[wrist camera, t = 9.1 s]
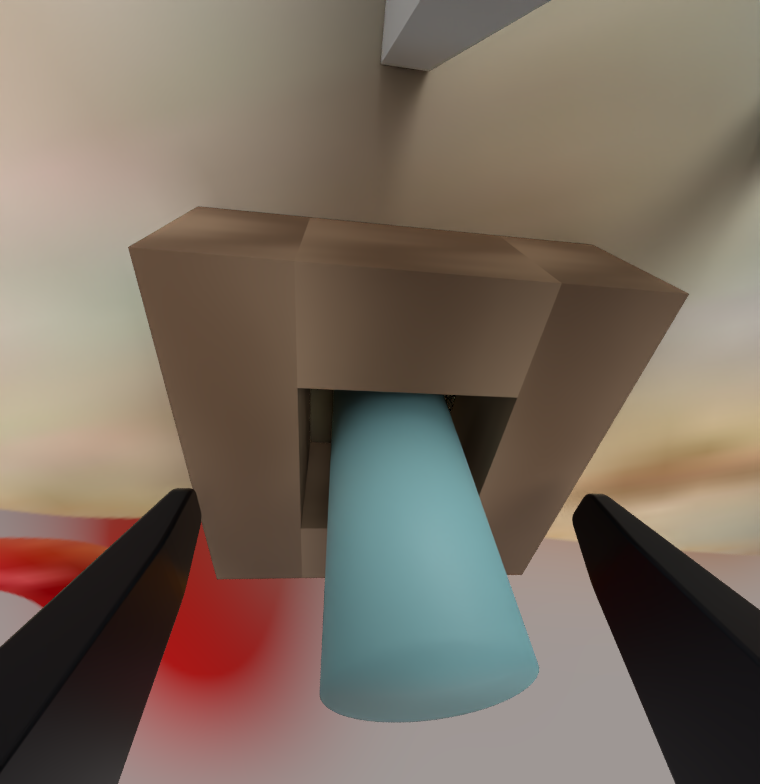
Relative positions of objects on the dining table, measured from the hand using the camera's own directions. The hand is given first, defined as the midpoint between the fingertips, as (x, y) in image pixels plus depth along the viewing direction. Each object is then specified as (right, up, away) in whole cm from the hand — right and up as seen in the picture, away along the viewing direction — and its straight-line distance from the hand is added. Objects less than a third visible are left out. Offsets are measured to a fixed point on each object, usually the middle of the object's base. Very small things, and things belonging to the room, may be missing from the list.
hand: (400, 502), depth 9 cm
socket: (0, +3, +4) cm, 4 cm away
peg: (0, +3, +4) cm, 5 cm away
